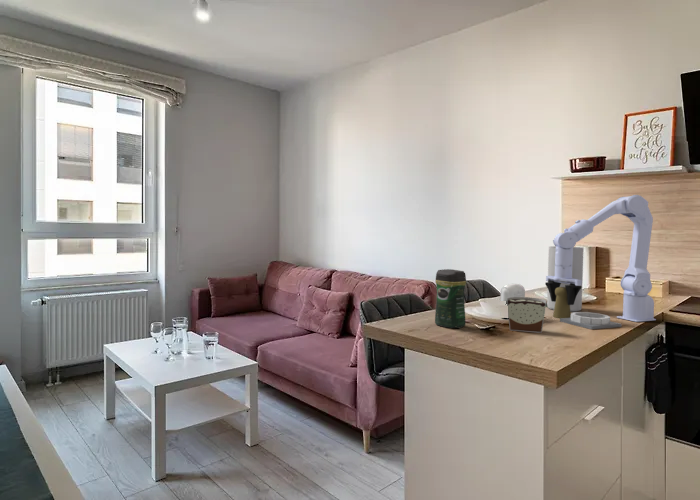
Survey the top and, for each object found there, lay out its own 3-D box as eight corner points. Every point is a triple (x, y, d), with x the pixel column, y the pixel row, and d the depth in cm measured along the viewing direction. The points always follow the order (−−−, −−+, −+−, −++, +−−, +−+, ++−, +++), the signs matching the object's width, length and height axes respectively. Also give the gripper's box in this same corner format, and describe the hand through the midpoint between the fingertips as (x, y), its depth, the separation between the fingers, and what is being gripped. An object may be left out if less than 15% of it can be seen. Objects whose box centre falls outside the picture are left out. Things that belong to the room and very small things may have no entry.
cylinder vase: (587, 312, 171) (589, 247, 170) (555, 311, 171) (557, 247, 170) (572, 306, 184) (573, 246, 182) (541, 306, 184) (543, 246, 183)
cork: (549, 315, 163) (550, 286, 163) (565, 315, 164) (566, 286, 163) (558, 319, 157) (559, 288, 157) (574, 318, 158) (575, 288, 157)
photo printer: (515, 315, 164) (516, 282, 163) (526, 317, 160) (526, 283, 160) (497, 318, 158) (498, 283, 158) (508, 320, 155) (508, 285, 154)
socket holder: (588, 319, 157) (588, 310, 157) (621, 326, 145) (621, 317, 145) (559, 321, 153) (560, 312, 153) (591, 329, 141) (591, 320, 141)
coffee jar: (469, 326, 143) (470, 270, 142) (453, 330, 139) (454, 271, 138) (446, 321, 151) (447, 267, 150) (430, 324, 147) (431, 268, 146)
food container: (545, 329, 141) (546, 298, 141) (547, 333, 135) (548, 300, 135) (504, 326, 145) (505, 295, 145) (504, 329, 139) (505, 298, 139)
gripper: (539, 264, 165) (538, 300, 166) (571, 267, 151) (569, 306, 152) (554, 264, 167) (553, 299, 168) (586, 267, 154) (585, 305, 154)
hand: (562, 303), depth 160 cm, fingers open, 7 cm apart
